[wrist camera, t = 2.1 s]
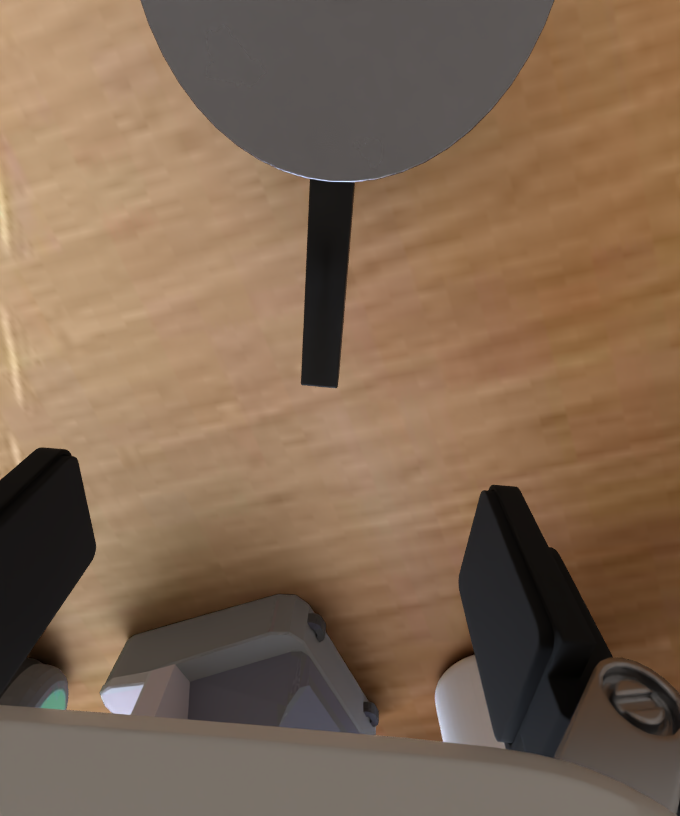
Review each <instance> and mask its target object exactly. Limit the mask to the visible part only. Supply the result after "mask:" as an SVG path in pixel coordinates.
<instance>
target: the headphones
mask: <svg viewBox="0 0 680 816" xmlns="http://www.w3.org/2000/svg"><path fill="white" fill-rule="evenodd" d="M67 703H68V682H67V679H66V676H65V675H64V674H63V672H62V671H61V670H60V669H59V668H57V667H54V666H51V665H47V664H42V663H41V662H40V661H38V660H36V659H33V658H26V659H25V660H24V661H23V663H22V664H21V666H20V667H19V669H18V670H17V672H16V673H15V675H14V676H13V678H12V679H11V681H10V682H9V684H8V685H7V686H6V688H5V689H4V691H3V692H2V693H1V695H0V705H7V706H21V707H34V708H47V709H61V710H66V708H67Z"/></svg>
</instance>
